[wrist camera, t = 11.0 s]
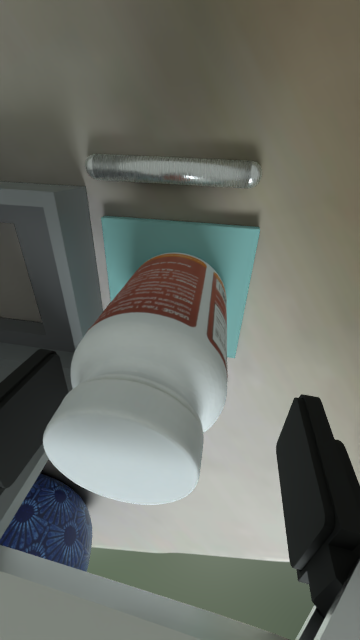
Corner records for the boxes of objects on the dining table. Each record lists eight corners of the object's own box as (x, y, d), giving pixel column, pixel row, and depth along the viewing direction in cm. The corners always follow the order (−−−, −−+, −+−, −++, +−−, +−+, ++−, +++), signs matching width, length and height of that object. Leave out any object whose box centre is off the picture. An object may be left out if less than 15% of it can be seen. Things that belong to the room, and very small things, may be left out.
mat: (259, 227, 14) (260, 229, 14) (234, 352, 19) (234, 358, 19) (105, 215, 15) (100, 217, 15) (118, 337, 20) (115, 342, 20)
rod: (262, 161, 13) (265, 161, 12) (258, 188, 14) (260, 190, 13) (90, 153, 14) (79, 152, 13) (93, 178, 15) (83, 179, 14)
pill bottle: (116, 298, 18) (-11, 454, 8) (169, 226, 14) (63, 343, 5) (186, 350, 19) (145, 533, 10) (248, 294, 16) (277, 482, 6)
